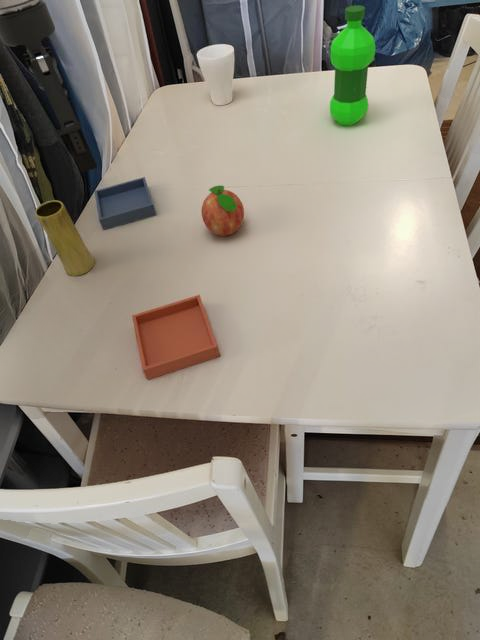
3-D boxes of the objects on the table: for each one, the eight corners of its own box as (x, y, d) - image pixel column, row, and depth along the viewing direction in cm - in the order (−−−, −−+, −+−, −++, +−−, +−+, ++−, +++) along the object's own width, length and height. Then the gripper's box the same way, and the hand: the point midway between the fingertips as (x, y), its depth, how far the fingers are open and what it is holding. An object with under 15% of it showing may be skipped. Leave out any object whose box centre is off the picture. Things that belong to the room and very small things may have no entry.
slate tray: (103, 230, 98) (98, 220, 96) (98, 200, 106) (94, 190, 104) (156, 214, 99) (153, 204, 97) (147, 187, 107) (144, 176, 105)
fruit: (211, 248, 89) (201, 207, 82) (201, 221, 96) (191, 181, 88) (251, 237, 90) (246, 195, 83) (239, 211, 96) (233, 170, 89)
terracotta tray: (147, 380, 71) (142, 370, 69) (136, 325, 79) (131, 315, 76) (220, 356, 72) (217, 346, 70) (202, 305, 80) (199, 294, 78)
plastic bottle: (328, 131, 113) (331, 19, 94) (328, 112, 120) (331, 3, 101) (368, 129, 112) (380, 14, 93) (366, 110, 118) (377, -2, 99)
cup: (219, 112, 128) (211, 62, 117) (198, 103, 134) (189, 54, 123) (247, 98, 131) (241, 48, 121) (225, 90, 137) (218, 41, 127)
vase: (86, 277, 88) (55, 219, 78) (60, 275, 90) (25, 218, 79) (99, 256, 92) (71, 199, 81) (73, 254, 94) (42, 197, 83)
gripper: (56, 14, 52) (119, 176, 68) (33, -15, 68) (88, 121, 84) (-8, 32, 51) (72, 193, 66) (-15, -2, 67) (50, 133, 83)
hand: (81, 153), depth 75 cm, fingers open, 13 cm apart
